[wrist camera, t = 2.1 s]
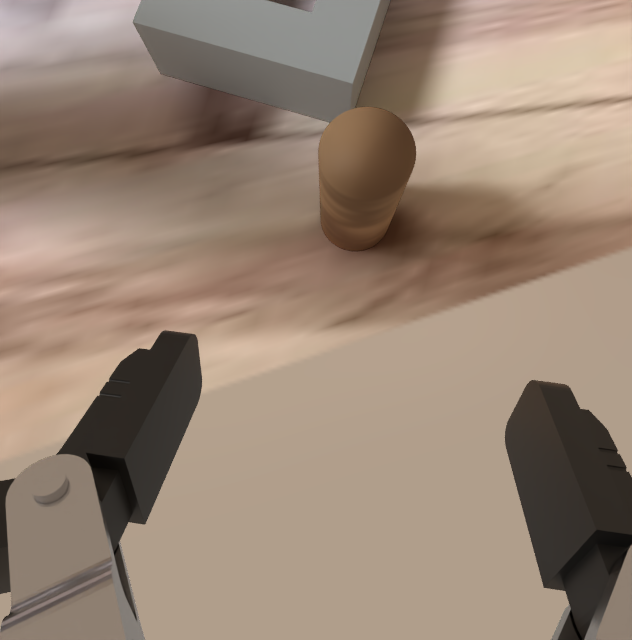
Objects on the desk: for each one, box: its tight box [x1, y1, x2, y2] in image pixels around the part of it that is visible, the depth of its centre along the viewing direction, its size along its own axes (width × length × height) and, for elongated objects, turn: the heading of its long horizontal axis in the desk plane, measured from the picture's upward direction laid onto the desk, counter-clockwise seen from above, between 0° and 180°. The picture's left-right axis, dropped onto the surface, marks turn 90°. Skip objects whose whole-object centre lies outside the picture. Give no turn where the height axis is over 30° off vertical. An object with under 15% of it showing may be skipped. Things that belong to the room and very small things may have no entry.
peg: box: [318, 107, 416, 251], centre depth 28 cm, size 5×5×10 cm
